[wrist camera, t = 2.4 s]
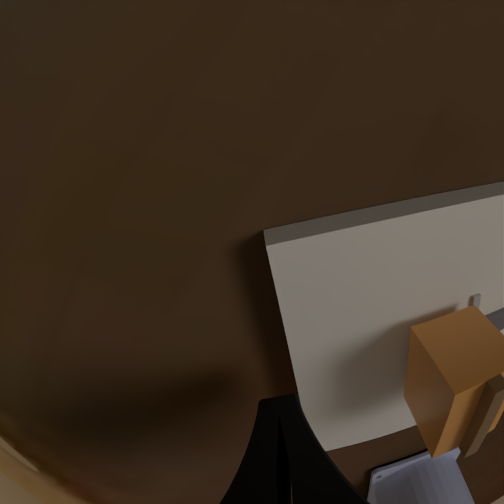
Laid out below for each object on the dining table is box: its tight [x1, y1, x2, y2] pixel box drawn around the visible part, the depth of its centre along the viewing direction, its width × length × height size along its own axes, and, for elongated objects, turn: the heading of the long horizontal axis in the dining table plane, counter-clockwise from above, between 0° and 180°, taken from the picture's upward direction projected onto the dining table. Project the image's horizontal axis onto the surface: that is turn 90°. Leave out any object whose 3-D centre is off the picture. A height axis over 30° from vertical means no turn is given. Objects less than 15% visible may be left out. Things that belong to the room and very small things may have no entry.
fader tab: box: [403, 305, 504, 459], centre depth 9 cm, size 4×3×4 cm
